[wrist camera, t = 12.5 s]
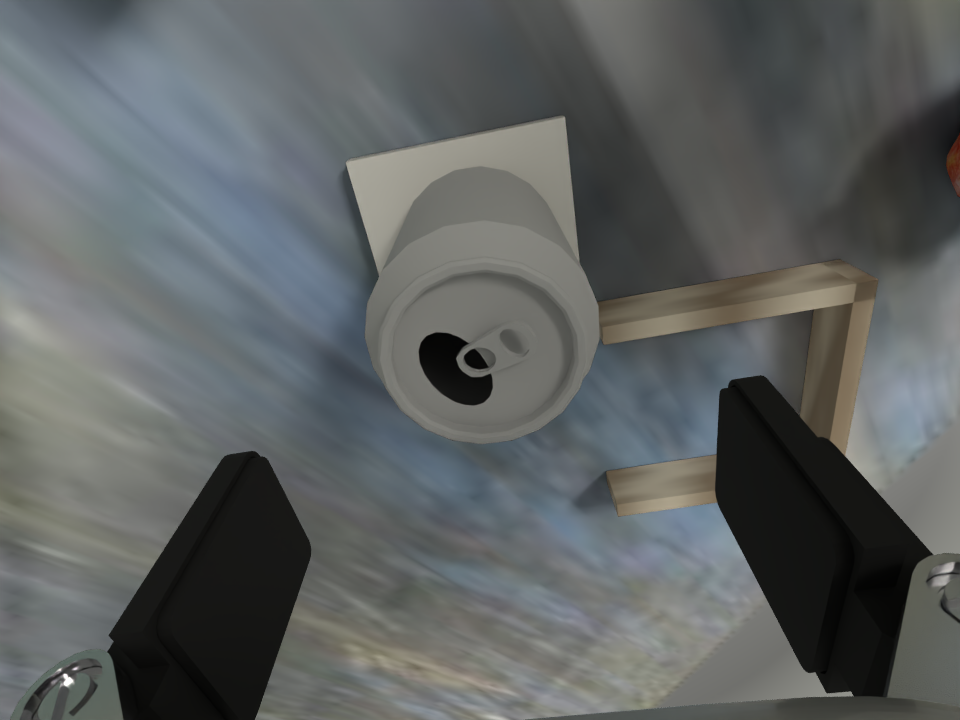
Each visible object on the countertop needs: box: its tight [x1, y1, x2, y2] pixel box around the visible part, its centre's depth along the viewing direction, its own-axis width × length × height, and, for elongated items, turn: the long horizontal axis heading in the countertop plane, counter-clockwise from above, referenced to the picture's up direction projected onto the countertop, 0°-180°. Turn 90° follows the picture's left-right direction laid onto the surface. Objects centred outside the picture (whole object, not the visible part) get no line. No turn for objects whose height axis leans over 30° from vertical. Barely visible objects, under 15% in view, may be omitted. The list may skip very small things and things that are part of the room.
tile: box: [346, 115, 580, 276], centre depth 26 cm, size 10×10×1 cm
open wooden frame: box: [597, 259, 878, 517], centre depth 30 cm, size 13×13×3 cm
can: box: [365, 166, 600, 444], centre depth 21 cm, size 8×8×12 cm
